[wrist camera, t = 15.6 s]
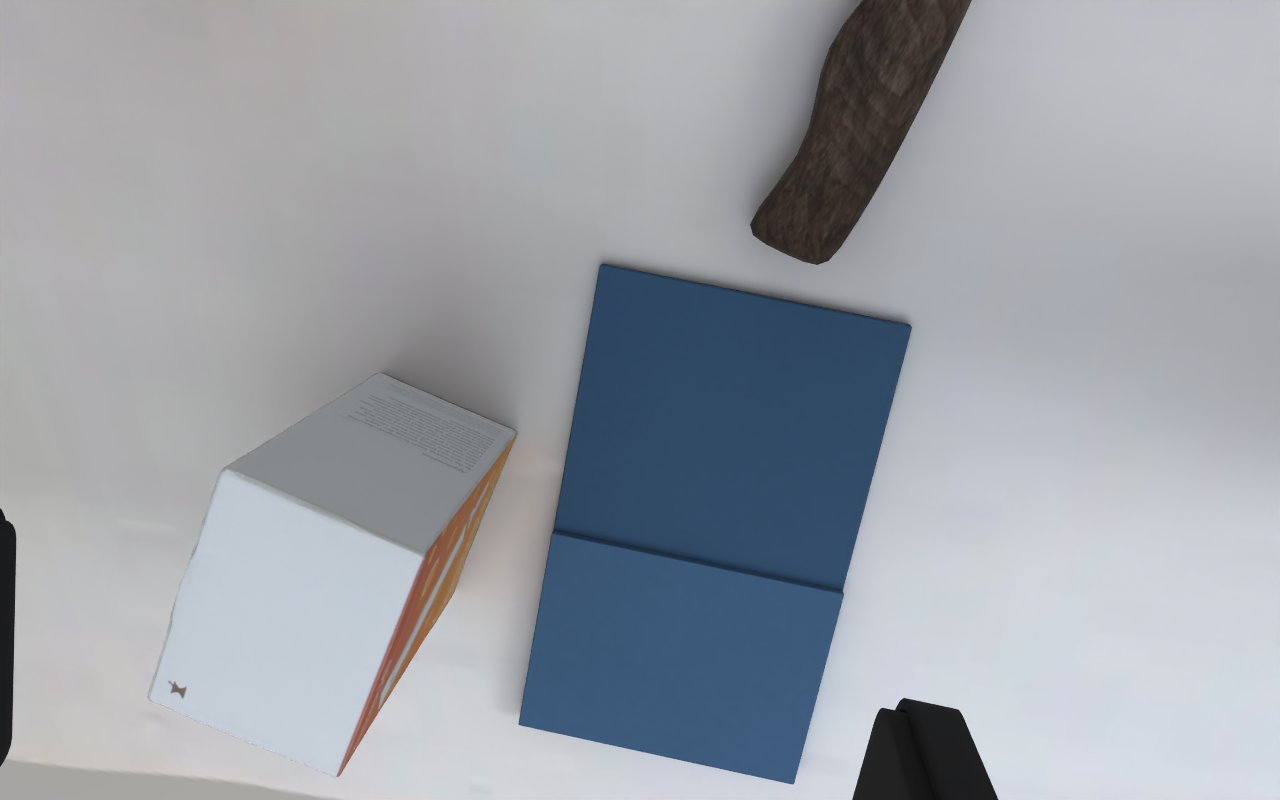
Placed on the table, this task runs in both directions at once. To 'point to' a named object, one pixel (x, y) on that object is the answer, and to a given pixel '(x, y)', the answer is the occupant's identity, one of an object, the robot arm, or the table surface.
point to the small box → (327, 569)
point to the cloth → (707, 520)
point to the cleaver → (857, 122)
